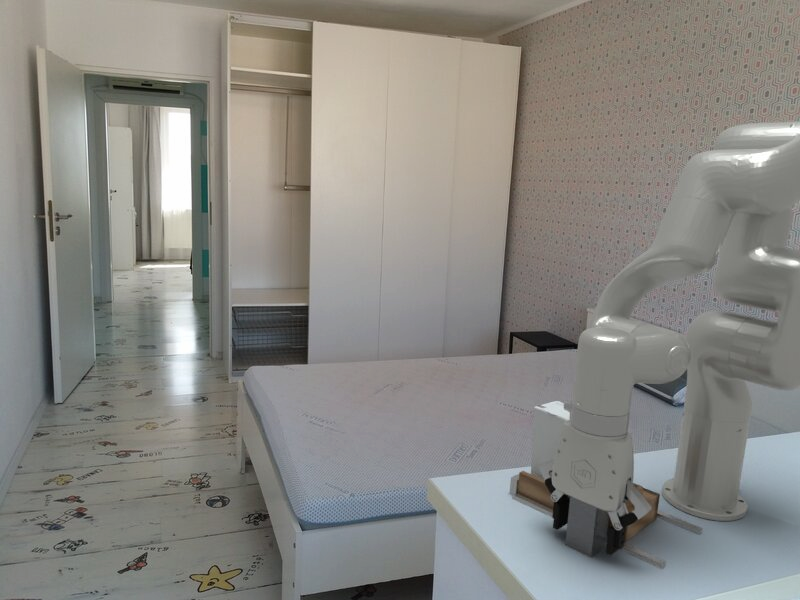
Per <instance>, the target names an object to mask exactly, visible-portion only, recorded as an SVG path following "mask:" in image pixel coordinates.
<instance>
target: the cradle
mask: <svg viewBox="0 0 800 600" xmlns="http://www.w3.org/2000/svg"><path fill="white" fill-rule="evenodd" d="M518 474H519V483H518V494H520V495H522V496H524V497H526V498H529V499H531V500H533V501H535V502H537V503H539V504H542V505H544V506H546V507H548V508H550V509H553V506H554V501H552V500H551V493H550V491H549V490H548V488H547V486H546V485H545V480H544V479H541V478H539V477H537V476H534V475H532V474H531V472H527V471H526V470H525V471H524V470H521V471H519V472H518ZM633 485H634V486H635V487H636V488H637V490H638V491H639V492H640V493H641V495H642V496H643V497H644V498H645V499H646V501H647V502H648V503H649V504H650V506H651V508H652V509H651V511H650V512H648V513H647V514H646V515H644V516H643V517H642V518H640V519H639V520H637V521H636V522H635V523H633V524H631V525H629V526H626V533H625V541H624V543H626V542H628V541H629V540H630V539H632V538H633V537H635V535H637V534H638V533H639V532H641V531H642V530H643V529H644V528H646V527H647V526H648V525H650V524H651V523H652V522H654V521H655V520H657V518H658V517H657V512H658V510H659V504H660V503H659V502H660V496H661V494H660V493H658V492H655V491H653V490H651V489H647V488H645V487H644V486H642V485H639V484H637V483H635V482H633ZM568 497H570V496H568ZM625 505H626V508H627V510H628V513H630V512H632V511H634V510H635V506H634V505H633V504H632V502H631V501H629V502H628V503H625ZM612 525H613V524H612V522H611V519H610V516H609V521H608V529H609V527H610V526H612ZM608 529H607V535H608Z"/></svg>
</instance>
